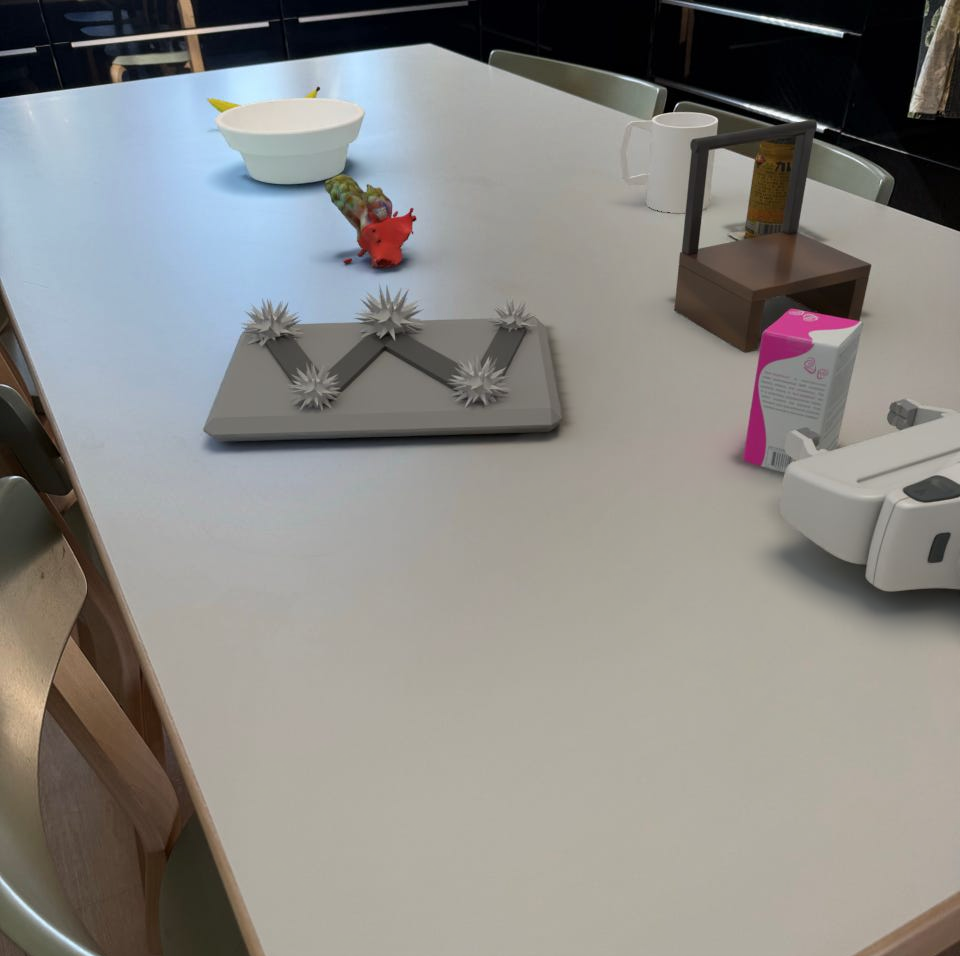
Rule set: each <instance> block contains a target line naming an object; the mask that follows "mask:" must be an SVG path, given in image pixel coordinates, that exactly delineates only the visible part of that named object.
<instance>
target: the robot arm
mask: <svg viewBox="0 0 960 956" xmlns="http://www.w3.org/2000/svg"><path fill="white" fill-rule="evenodd" d="M888 409H889V411H888V413H887V415H886V420H887V423H888V424H889V425H890V426H892V427H895V428H896V429H897V430H896V431H893V432H890V433H886V434H883V435H879V436H876V437H873V438H869V439H866V440H862V441H859V442H855V443H853V444H850V445H845V446H842V447H839V448H837V449H835V450H832V451H828V450H826V449H820V450H819V451H817V448H816V447H817V445H818V444H819V439H820V435H818V434H817V433H815V432H813V431H810V429H809V428H807V427H805V428H801V429H797V430H793V431H790V432H788V433H787V435H786V440H785V445H784V450H785V452H786V454H787V455H789V456H790V457H791V458H793V459H794V460H796V461H794V462H792V463H790V464H789V465H788V466H787V468H786V471H785V473H784V475H783V479H782V484H781V487H780V495H779V512H780V514H781V516H782V518H783V519H784V520H785V522H787V523H788V524H789V525H791V527H793V528H794V529H795V530H797V531H798V532H799V533H801V534H802V535H803V536H804V537H806V538H807V539H809V541H812V543H814V544H816V545H817V546H818V547H820V548H821V549H823V550H824V551H826V552H827V553H829V554H831V555H832V556H834V557H836V558H837V559H840V560H842V561H845V562H847V563H851V564H855V565H866V568H865V579H866V580H867V581H868V583H870V584H871V585H872V586H874V587H875V588H876V589H879V590H881V591H884V592H902V591H910V590H923V589H948V590H949V589H950V590H960V412H959V411H957V410H956V409H951V408H946V407H939V406H934V405H927V404H925V405H924V404H922V403H920V402H918V401H917V400H915V399H913V398H911V397H906V398H902V399H900V400H897V401H894V402H891V403H890V405H889V406H888Z"/></svg>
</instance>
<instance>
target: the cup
mask: <svg viewBox="0 0 960 956" xmlns="http://www.w3.org/2000/svg"><path fill="white" fill-rule="evenodd" d="M633 127H635V128H637V129H638V128H639V129H641V130H645V131H647V132H650V140H649V155H648V167H647V173H641V174H637V175H632V176H630V173H629V172H630V171H629V163H628V156H627V152H628V146H629V144H630V138H631V134H632V131H633ZM718 127H719V119H718V118H717V117H716V116H714V115H712V114H707V113H703V112H691V111H684V112H683V111H677V112H676V111H675V112H667V113H662V114H658V115H655V116H653V117H652V118H651V120H631V121H630V122H628V123H626V124H625V126H624V131H623V136H622V140H621V145H620V148H619V157H620V167H621V177H622V179H623V180H624V182H625V183H626V184H627V185H628V186H646V196H645V205H646V206H647V208H649V207H650V208H649V209H651V208H652V210H653V209H654V211H657V210H658V211H657V212H661V211H662V213H667V212H670V213H669V214H685V213H686V203H687V192H688V182H689V172H690V162H691V152H692V151H691V148H690V143H691V141H692V139H695V138H702V137H708V136H714V135H718ZM715 153H716V149H714V150H709V155H708V164H707V173H706V183H705V192H704V201H703V210H705V209H707V208H708V207H709V206H710V198H711V189H712V180H713V172H714V162H715ZM708 205H709V206H708Z"/></svg>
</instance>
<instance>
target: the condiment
mask: <svg viewBox="0 0 960 956" xmlns="http://www.w3.org/2000/svg"><path fill="white" fill-rule="evenodd" d="M795 143H796V136H793V137H787V138H781V139H775V140H769V141H763V142H760V144H759V150H760V151H759V152H758V153H757V155H756V157H755V159H754V164H753V170H752V177H751V184H750V189H749V190H750V191H749V197H748V206H747V210H746V211H747V212H746V218H745V225H744V231H734V232H728V233H727V235H729V236H731V238H734V239H735V240H737V241H739V240H744V239H749V238H754V237H759V236H763V235H768V234H773V233H778V232H782V225H783V218H784V212H785V206H786V199H787V193H788V187H789V180H790V174H791V168H792V162H793V155H794V149H795Z"/></svg>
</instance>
